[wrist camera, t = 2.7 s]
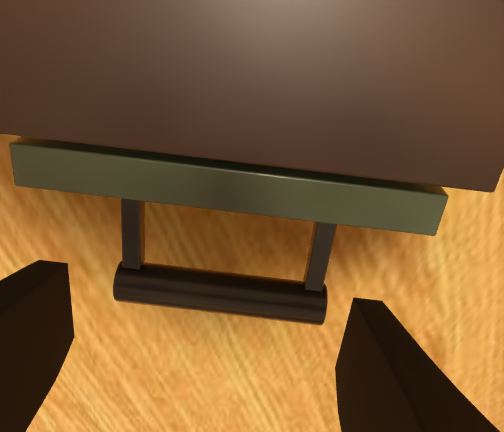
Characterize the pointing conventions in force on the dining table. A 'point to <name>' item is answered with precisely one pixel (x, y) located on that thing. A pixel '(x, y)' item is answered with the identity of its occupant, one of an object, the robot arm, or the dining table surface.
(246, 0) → the cabinet
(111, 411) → the dining table surface
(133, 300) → the drawer
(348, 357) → the robot arm
